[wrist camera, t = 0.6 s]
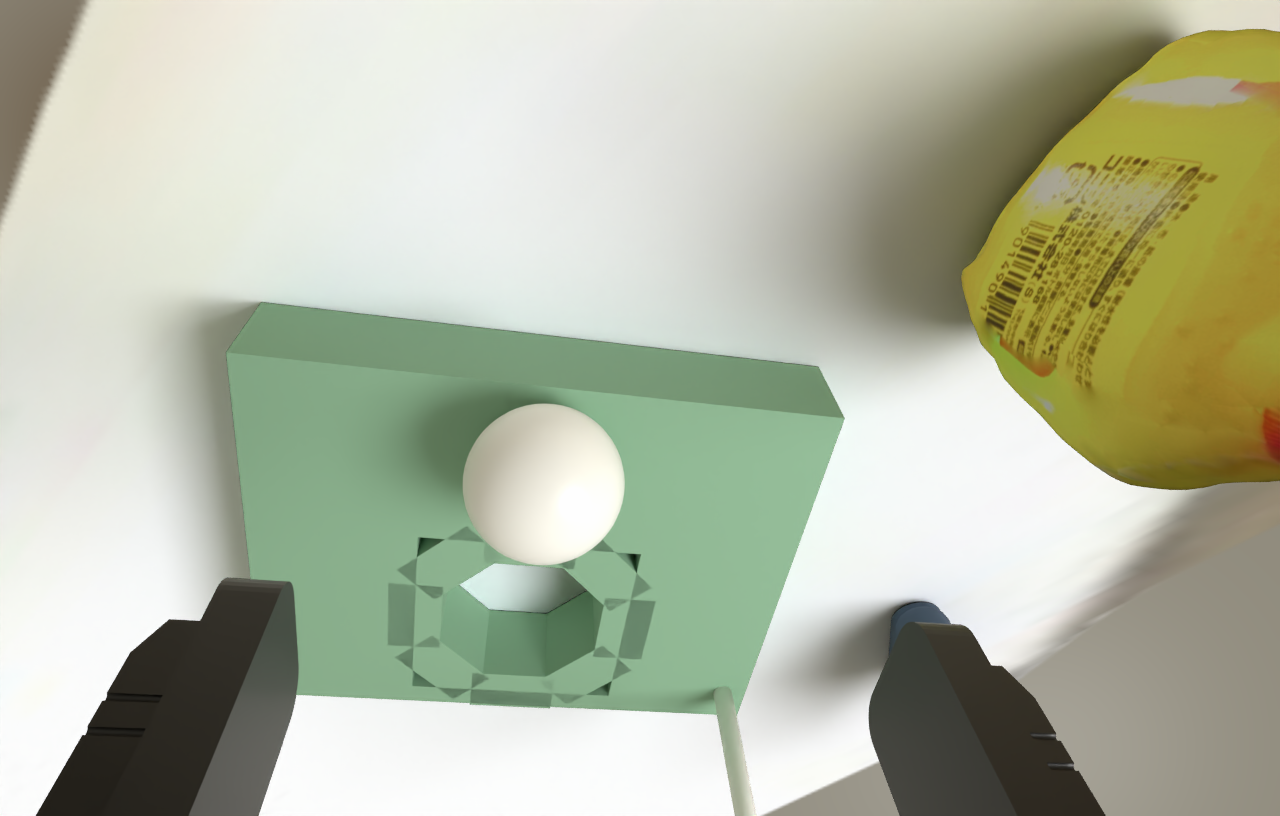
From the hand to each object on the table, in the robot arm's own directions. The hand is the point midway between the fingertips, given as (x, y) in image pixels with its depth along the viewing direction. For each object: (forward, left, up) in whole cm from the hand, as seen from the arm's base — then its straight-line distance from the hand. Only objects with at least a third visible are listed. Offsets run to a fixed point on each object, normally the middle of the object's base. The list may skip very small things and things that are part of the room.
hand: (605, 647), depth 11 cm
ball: (+8, 0, -13) cm, 15 cm away
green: (+14, 0, -19) cm, 23 cm away
